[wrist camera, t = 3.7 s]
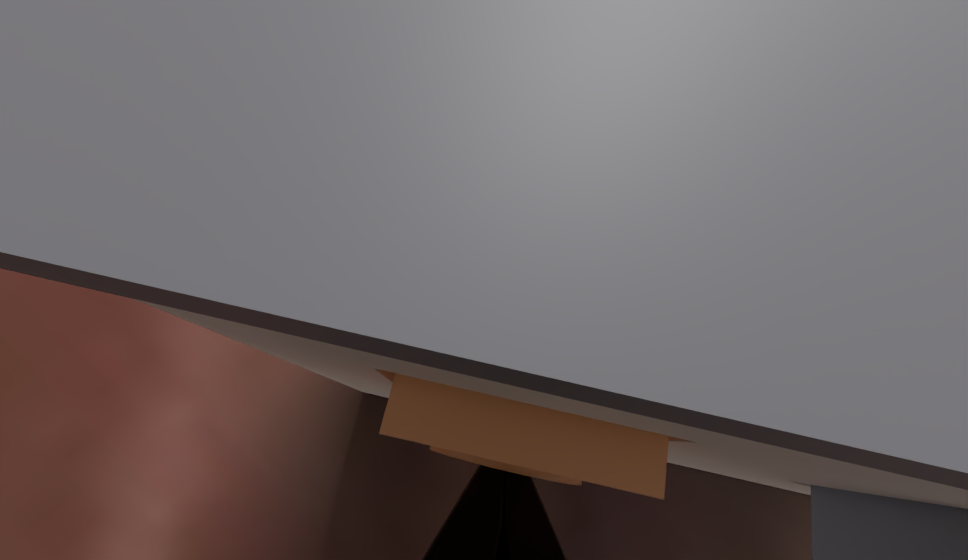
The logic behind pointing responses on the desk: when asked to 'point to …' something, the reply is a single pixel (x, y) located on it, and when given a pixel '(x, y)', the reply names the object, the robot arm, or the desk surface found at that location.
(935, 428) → the control box
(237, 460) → the desk surface
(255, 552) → the desk surface
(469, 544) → the robot arm
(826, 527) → the slate button
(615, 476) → the orange button
